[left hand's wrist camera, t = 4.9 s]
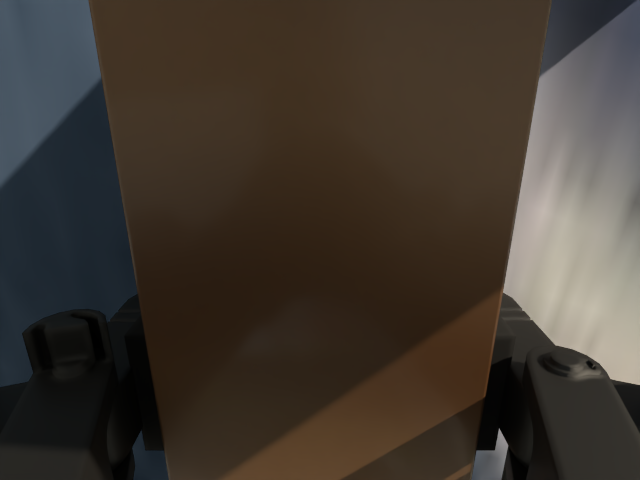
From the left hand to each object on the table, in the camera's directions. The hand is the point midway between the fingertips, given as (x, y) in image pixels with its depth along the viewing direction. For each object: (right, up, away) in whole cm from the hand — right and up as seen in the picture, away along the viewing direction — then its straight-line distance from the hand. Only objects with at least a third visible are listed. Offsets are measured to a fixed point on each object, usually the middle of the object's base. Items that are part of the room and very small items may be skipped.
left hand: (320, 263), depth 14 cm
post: (0, -18, +7) cm, 19 cm away
